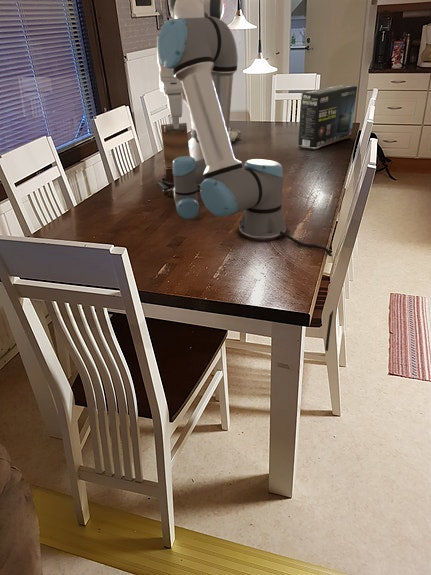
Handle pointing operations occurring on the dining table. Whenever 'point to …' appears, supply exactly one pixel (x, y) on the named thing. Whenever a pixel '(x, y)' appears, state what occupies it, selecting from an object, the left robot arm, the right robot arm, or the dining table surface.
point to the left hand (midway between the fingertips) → (175, 126)
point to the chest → (169, 175)
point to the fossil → (233, 134)
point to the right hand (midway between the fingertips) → (178, 176)
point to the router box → (326, 115)
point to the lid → (174, 142)
